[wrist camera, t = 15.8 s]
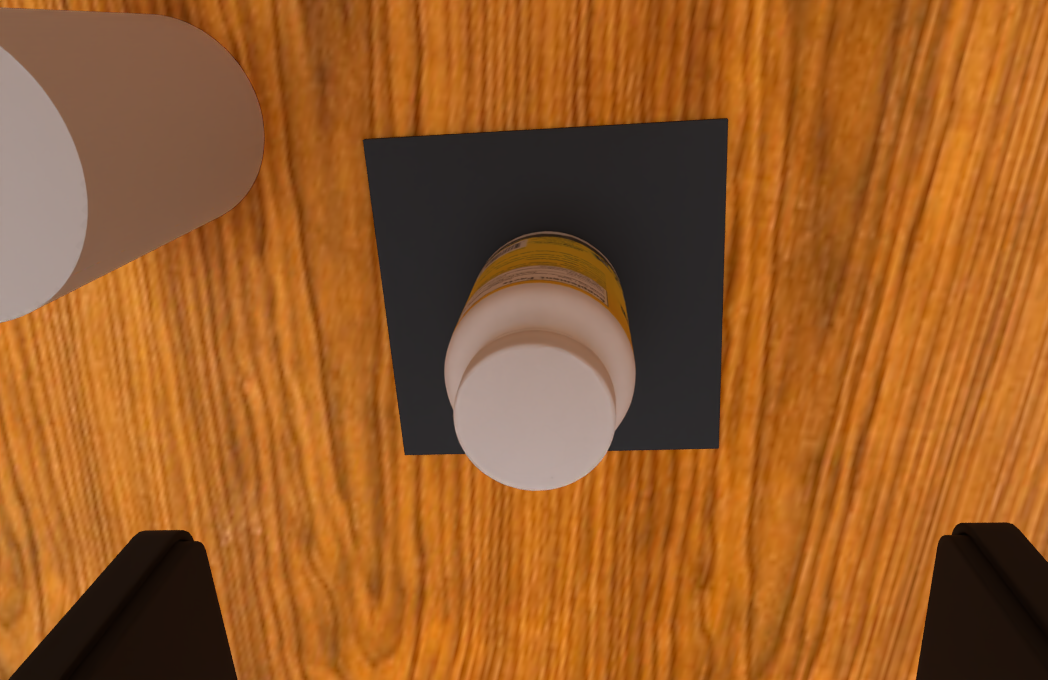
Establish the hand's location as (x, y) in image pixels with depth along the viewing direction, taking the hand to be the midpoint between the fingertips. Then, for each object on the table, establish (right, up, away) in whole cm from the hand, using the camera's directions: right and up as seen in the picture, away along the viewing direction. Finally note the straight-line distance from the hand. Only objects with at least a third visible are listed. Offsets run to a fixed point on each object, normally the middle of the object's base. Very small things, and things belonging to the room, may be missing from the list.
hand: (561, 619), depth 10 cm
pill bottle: (+1, +5, +23) cm, 23 cm away
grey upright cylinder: (-15, +12, +21) cm, 29 cm away
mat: (+1, +5, +23) cm, 23 cm away
